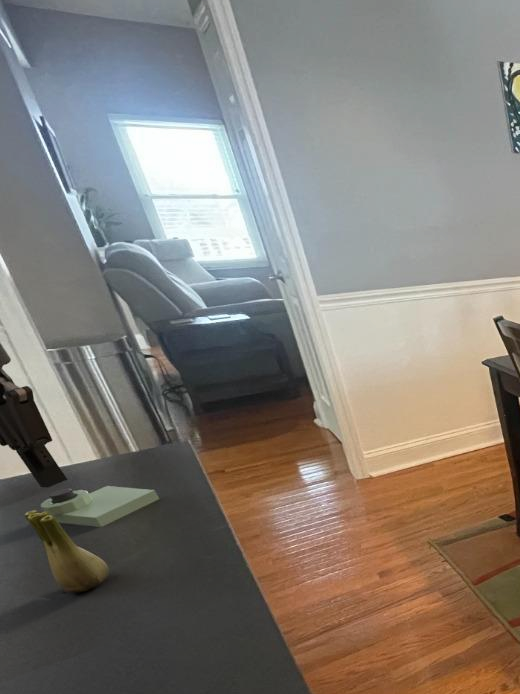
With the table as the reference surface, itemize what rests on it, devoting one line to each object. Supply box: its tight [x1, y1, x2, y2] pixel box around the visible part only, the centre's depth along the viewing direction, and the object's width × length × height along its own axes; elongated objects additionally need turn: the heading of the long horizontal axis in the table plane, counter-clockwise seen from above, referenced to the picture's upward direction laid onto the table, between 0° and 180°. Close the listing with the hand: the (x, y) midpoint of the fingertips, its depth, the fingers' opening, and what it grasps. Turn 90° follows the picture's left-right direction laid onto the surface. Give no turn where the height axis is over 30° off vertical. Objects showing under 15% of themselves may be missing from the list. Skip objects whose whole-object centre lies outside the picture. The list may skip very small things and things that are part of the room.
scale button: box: [48, 488, 76, 504], centre depth 99 cm, size 3×3×2 cm
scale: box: [40, 485, 160, 528], centre depth 101 cm, size 12×10×4 cm
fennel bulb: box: [24, 509, 110, 594], centre depth 81 cm, size 6×5×12 cm
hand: (54, 483), depth 98 cm, fingers closed
